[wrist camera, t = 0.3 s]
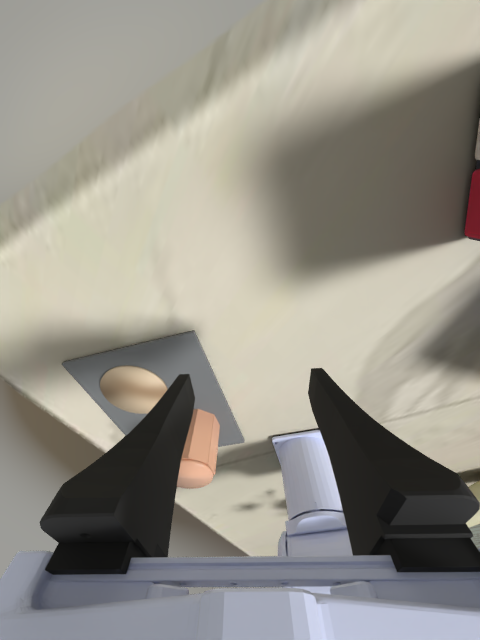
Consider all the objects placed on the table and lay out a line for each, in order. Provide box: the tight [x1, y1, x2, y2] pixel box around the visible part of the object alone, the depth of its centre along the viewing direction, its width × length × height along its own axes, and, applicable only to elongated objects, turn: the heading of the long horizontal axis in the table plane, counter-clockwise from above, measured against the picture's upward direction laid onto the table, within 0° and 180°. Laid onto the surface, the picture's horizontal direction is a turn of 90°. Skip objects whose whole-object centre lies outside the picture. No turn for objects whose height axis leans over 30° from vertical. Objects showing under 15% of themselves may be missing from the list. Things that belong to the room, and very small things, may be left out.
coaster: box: [100, 365, 168, 414], centre depth 27 cm, size 8×8×1 cm
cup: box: [177, 409, 220, 488], centre depth 27 cm, size 6×6×6 cm
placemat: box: [62, 331, 244, 447], centre depth 29 cm, size 20×16×1 cm
